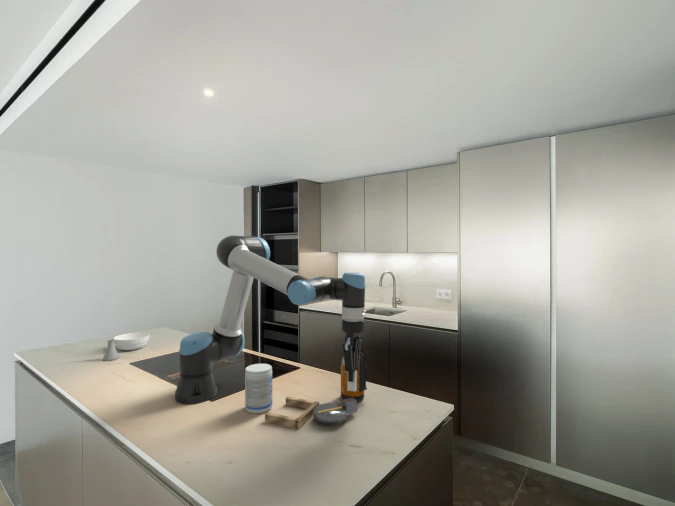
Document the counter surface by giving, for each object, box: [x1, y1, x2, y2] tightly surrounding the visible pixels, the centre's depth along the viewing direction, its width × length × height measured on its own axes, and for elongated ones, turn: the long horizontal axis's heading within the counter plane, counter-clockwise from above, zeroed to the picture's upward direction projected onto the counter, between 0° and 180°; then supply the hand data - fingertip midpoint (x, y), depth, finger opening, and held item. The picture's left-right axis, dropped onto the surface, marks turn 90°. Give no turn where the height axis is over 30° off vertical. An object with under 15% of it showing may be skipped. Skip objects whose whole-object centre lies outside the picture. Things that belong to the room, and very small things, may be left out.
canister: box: [340, 348, 368, 402], centre depth 133 cm, size 9×11×20 cm
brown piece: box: [264, 396, 320, 430], centre depth 120 cm, size 13×15×2 cm
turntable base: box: [321, 423, 339, 426], centre depth 116 cm, size 7×7×1 cm
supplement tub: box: [244, 363, 273, 414], centre depth 125 cm, size 10×10×15 cm
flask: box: [102, 338, 120, 362], centre depth 182 cm, size 7×7×10 cm
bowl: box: [112, 332, 151, 351], centre depth 202 cm, size 18×18×7 cm
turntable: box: [313, 398, 357, 425], centre depth 117 cm, size 15×11×4 cm
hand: (351, 389), depth 117 cm, fingers closed
